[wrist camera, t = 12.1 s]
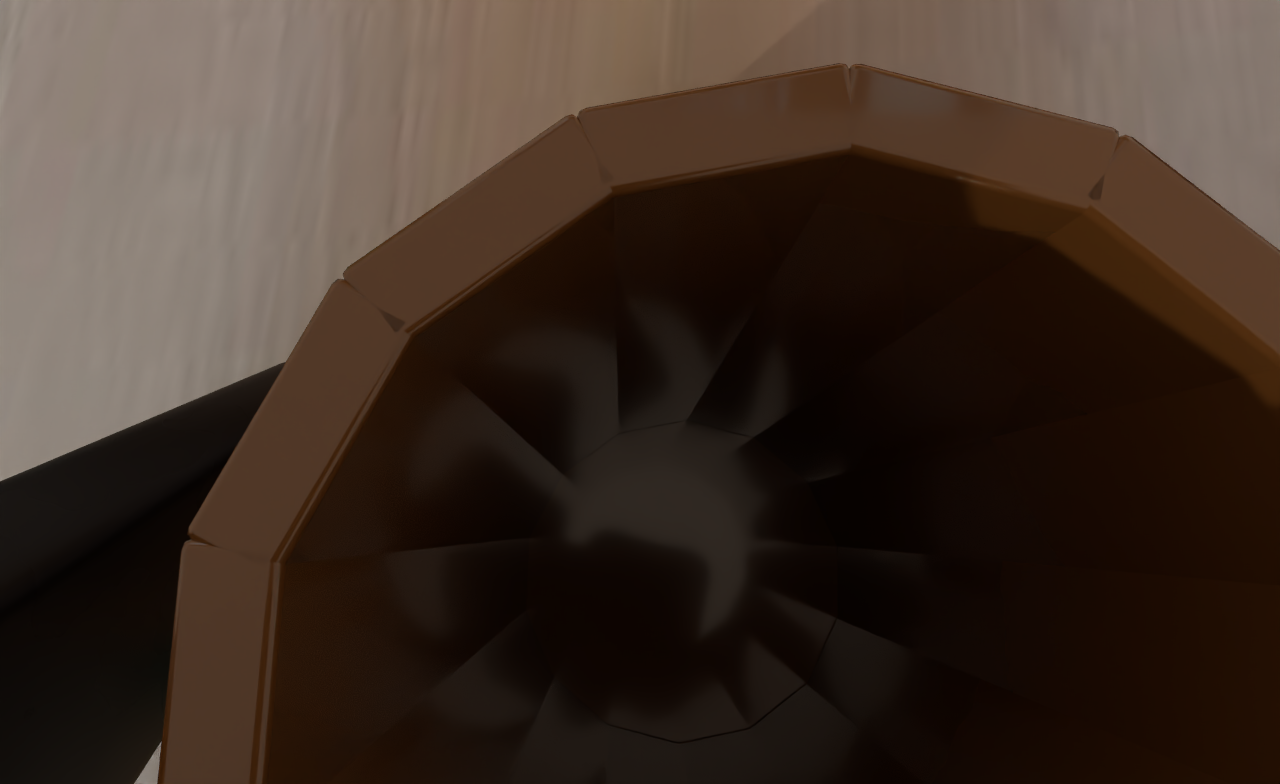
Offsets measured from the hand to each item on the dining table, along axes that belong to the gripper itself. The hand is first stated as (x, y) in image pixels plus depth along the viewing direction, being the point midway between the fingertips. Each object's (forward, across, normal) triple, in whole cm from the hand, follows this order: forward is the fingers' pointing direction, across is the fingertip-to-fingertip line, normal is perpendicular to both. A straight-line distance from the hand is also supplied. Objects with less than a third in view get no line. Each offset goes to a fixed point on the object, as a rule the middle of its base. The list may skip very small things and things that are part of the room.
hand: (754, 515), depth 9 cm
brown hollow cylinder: (+5, 0, +6) cm, 8 cm away
